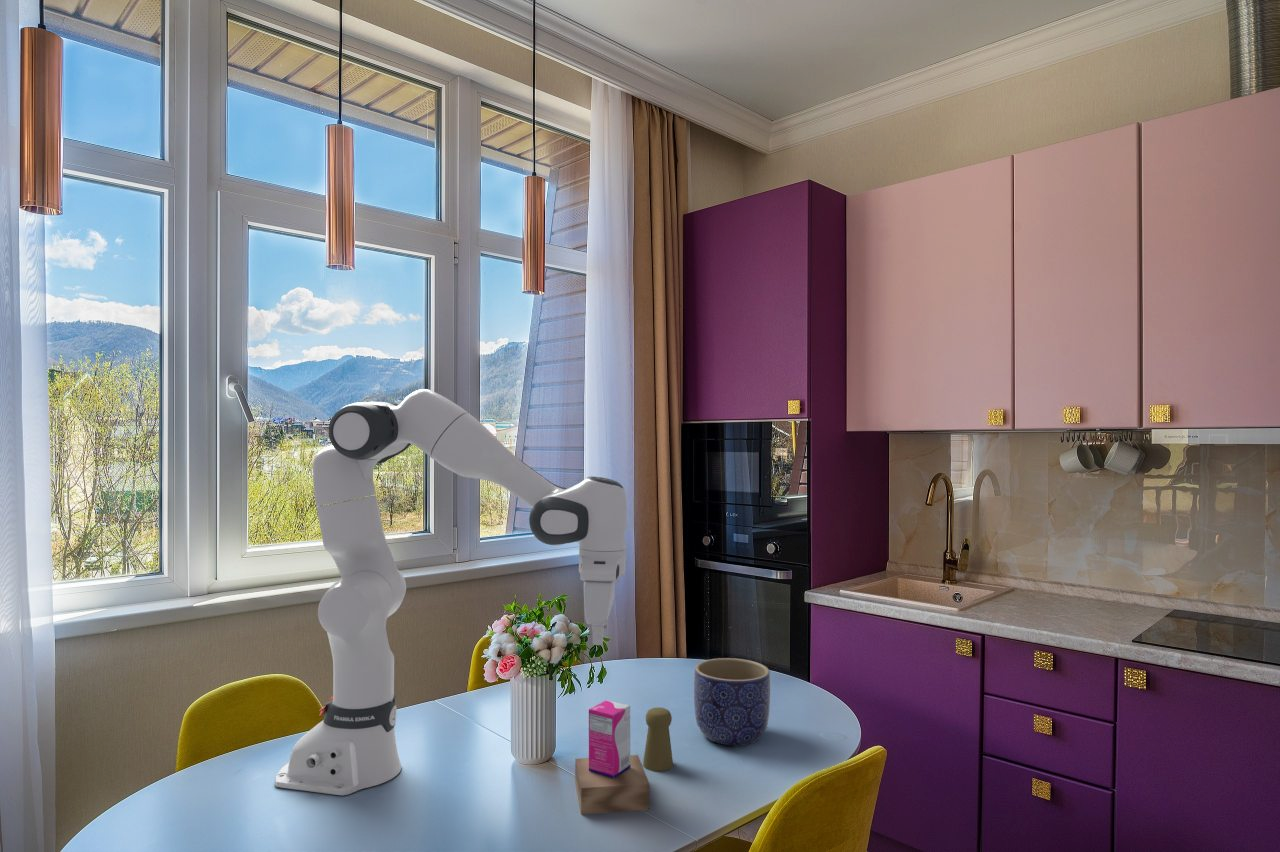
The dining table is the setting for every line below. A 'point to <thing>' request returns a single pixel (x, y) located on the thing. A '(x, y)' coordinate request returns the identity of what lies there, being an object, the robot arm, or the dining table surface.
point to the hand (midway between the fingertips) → (600, 637)
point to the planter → (732, 700)
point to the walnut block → (611, 789)
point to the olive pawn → (658, 740)
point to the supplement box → (609, 738)
